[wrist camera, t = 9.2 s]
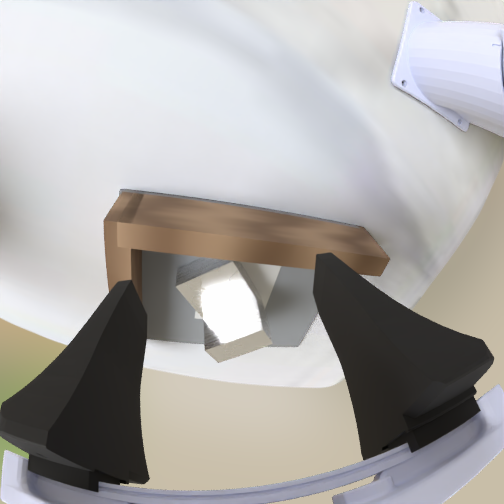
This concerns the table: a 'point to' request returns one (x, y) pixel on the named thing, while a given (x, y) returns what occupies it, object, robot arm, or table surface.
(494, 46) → the robot arm
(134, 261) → the corner walls
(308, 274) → the mat
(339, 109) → the table surface
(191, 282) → the aluminium bracket
